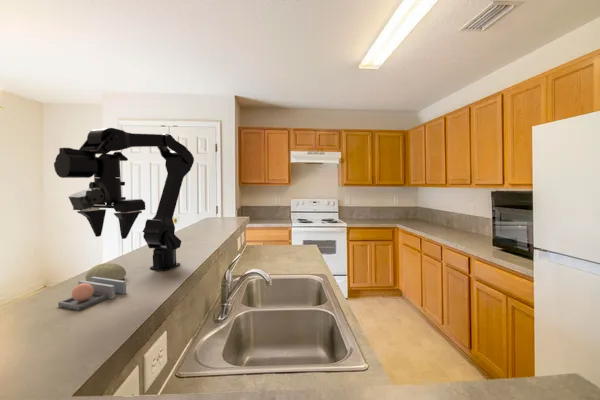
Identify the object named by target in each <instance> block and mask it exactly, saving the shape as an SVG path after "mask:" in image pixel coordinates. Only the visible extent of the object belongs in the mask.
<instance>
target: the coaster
mask: <svg viewBox="0 0 600 400" xmlns="http://www.w3.org/2000/svg"><path fill="white" fill-rule="evenodd" d="M107 299H108V298H107V295H106V294H100V293H95V292H94V293H93V295H92V296H91V298H89V299H88V300H86V301H82V302H80V301H76V300H74V299H73V297H72V296H71V297H69V298H66V299H63V300H60V301H58V307H59V306H61V307H60V308H63V307H64V309H68V310H74V311H78V312H79V311H81V310H83V309H86V308H89V307H91V306H93V305H96V304H99V303H100V302H103V301H105V300H107Z"/></svg>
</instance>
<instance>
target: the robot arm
mask: <svg viewBox="0 0 600 400" xmlns="http://www.w3.org/2000/svg"><path fill="white" fill-rule="evenodd" d="M86 138H87V139H85V141H84V143H83V144H82V145H81V146H80V148H79V149H75V148H71V147H60V148H59V149H58V150H59V152H58V154H57V155H56V157H55V159H54V160H55V161H54V162H53V167H54V171H55V173H56V175H57V176H58V177H59V178H61V179H67V178H69V179H70V178H71V179H76V178H77V179H78V178H79V179H82V178H83V179H90V178H92V177H93V181H90V182H89V184H88V188H87V189H84V190H80V191H78V192H75V193H73V194H70V195H68V199H69V201H70V203H71V205H72V211H76V213H78V214H80V215H82V216H83V217H85V218H86V220H87V222H88V224H89V226H90V227H91V229H92V231H93V234H94V236H95V237H96V238H97V237H101V236H102V232H103V228H104V222H105V217H106V211H107V209H113V210H114V211H115V212H114V213H113V215H114V216H115V217H116V218H117V219H118V223H119V232H120V236H121V239H123V240H125V239H127V238H128V236H129V233H130V232H131V229H132V228H133V226H134V224H135V222H136V220H137V219H138V216H139V214H142V213H143V212H142V211H146V202H145V201H144V200H143V199H141V198H130V199H126V198H127V197H125V196H123V195H122V186H126V181H122V180H121V179H122V177H121V162H128V160H129V159H128V157H126V156H125V155H124V154H123V153H122V152H121V151H122V150H125V149H129V148H138V147H140V148H143V147H144V148H146V147H147V148H151V147H155V148H156V147H157V149H158V150H159V154H160V156H161V157H162V158H163V160H165V163H164V164H165V170H166V172H167V173H166V174H167V175H166V178H165V182H164V186H163V188H162V191H161V192H162V193H161V197H160V199H159V203H158V205H157V210H156V214H155V215H154V216H153V218H152V219H149V218H148V219H146V220H145V225H144V226H145V227H144V228H143V230H142V233H143V240H144V241H145V242H146V245H147V247H148V249H152V252H153V254H152V265H150V267H149V269H152V270H157V271H159V270H160V271H168V270H171V269H173V268H175V267H178V266H180V265H181V263H180V262H177V249H179V248H181V245H182V240H181V239H180V238H179V237H178V236H177V235H176V234H175V230H176V227H175V226H176V225H175V223H174V220H173V219H174V214H175V210H176V207H177V204H178V199H179V196H180V193H181V192H180V191H181V189H182V185H183V181H184V178H185V177H186V175H188V173H189V172H190V171H192V167H193V165H194V161H195V157H194V156H193V154H192V152H191V151H190V150H189V149H188V148H187V147H186V146H185V145H184V144H182V143H180V142H179V141H178V140H176V139H175V138H174V137H173V136H172V135H171V134H168V133H160V134H159V133H158V134H155V133H131V132H128V131H126V130H124V129H119V128H114V127H106V128H98V129H96V128H95V129H91V130H89V132H88V134H87V137H86ZM110 152H113V153H110ZM96 155H99V156H96Z"/></svg>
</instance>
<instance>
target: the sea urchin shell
mask: <svg viewBox="0 0 600 400" xmlns="http://www.w3.org/2000/svg"><path fill="white" fill-rule="evenodd" d="M126 276H127V271H126V269H125V267H123V266H122V265H120V264H117V263H115V262H113V263H112V262H106V263H99V264H97V265H95V266H93V267H92V268H90V269H89V270H88V271H87V272H86V274H85V281H89V282H91V277H101V278H108V279H114V280H121V281H123V279H124V278H126Z"/></svg>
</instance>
